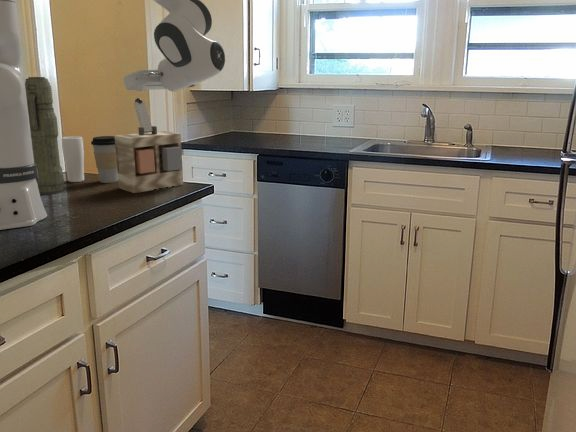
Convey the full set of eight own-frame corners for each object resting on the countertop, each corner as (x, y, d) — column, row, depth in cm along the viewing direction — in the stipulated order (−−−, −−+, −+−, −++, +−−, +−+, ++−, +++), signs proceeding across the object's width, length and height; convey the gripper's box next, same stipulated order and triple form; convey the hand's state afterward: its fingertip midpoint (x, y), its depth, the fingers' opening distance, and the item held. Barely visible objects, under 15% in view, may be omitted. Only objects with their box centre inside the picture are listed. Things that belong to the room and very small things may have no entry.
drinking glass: (79, 183, 190) (75, 138, 186) (61, 182, 191) (56, 138, 188) (90, 179, 196) (86, 136, 193) (72, 178, 198) (68, 135, 194)
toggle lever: (145, 131, 179) (135, 96, 179) (141, 133, 180) (131, 100, 181) (153, 130, 181) (143, 96, 181) (150, 133, 182) (140, 99, 183)
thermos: (28, 195, 172) (14, 77, 163) (40, 187, 184) (27, 76, 174) (58, 195, 173) (46, 77, 164) (68, 187, 184) (57, 76, 175)
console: (134, 193, 175) (129, 130, 170) (118, 188, 182) (113, 127, 177) (183, 184, 187) (180, 126, 182) (167, 180, 194) (163, 123, 189)
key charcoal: (168, 171, 179) (166, 149, 177) (156, 168, 184) (155, 146, 182) (181, 169, 182) (180, 147, 180) (169, 166, 187) (168, 145, 185)
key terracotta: (140, 173, 175) (139, 151, 173) (129, 170, 180) (128, 148, 178) (155, 171, 178) (153, 149, 176) (143, 168, 183) (142, 147, 181)
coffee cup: (115, 184, 188) (111, 139, 184) (89, 183, 190) (84, 138, 186) (127, 179, 197) (124, 136, 193) (102, 178, 199) (99, 135, 195)
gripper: (149, 85, 142) (113, 100, 150) (201, 85, 159) (166, 98, 167) (142, 61, 141) (106, 77, 149) (195, 63, 159) (161, 77, 166)
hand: (138, 88), depth 158 cm, fingers closed
